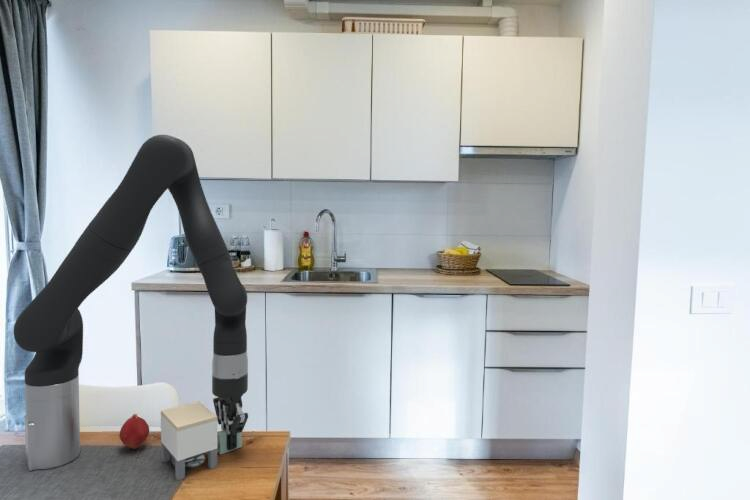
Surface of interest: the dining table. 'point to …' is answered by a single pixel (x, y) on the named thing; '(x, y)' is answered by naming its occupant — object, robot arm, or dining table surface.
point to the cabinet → (188, 435)
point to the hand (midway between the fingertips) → (229, 447)
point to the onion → (134, 432)
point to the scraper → (218, 445)
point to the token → (195, 461)
